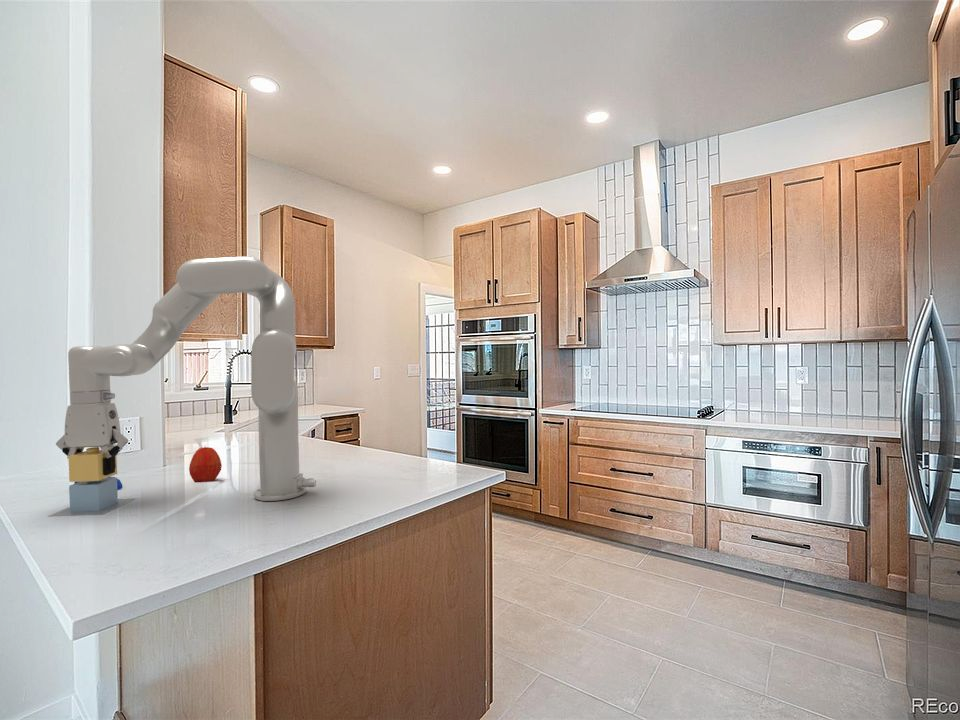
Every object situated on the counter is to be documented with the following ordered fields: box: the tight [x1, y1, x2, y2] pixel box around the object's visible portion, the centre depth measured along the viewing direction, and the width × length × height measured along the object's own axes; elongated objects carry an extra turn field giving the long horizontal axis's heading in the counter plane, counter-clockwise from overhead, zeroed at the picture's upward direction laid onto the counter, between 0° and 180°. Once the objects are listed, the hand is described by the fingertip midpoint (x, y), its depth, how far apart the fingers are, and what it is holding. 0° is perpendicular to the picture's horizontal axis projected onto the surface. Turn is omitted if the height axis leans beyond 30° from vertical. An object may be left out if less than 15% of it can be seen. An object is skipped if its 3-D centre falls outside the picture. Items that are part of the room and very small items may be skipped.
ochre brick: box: [67, 447, 118, 483], centre depth 117 cm, size 6×6×7 cm
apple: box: [188, 446, 223, 483], centre depth 141 cm, size 8×8×11 cm
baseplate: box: [47, 497, 138, 518], centre depth 117 cm, size 12×12×2 cm
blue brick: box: [68, 477, 119, 512], centre depth 117 cm, size 6×6×7 cm
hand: (93, 473), depth 117 cm, fingers closed on ochre brick, 6 cm apart
